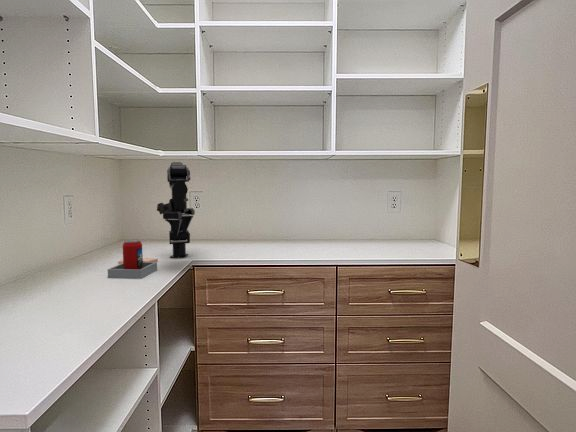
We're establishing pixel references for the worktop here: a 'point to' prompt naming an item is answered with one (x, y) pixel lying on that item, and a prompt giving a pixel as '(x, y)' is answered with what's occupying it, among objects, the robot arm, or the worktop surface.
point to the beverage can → (132, 254)
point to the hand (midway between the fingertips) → (180, 234)
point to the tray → (132, 271)
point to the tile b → (150, 260)
